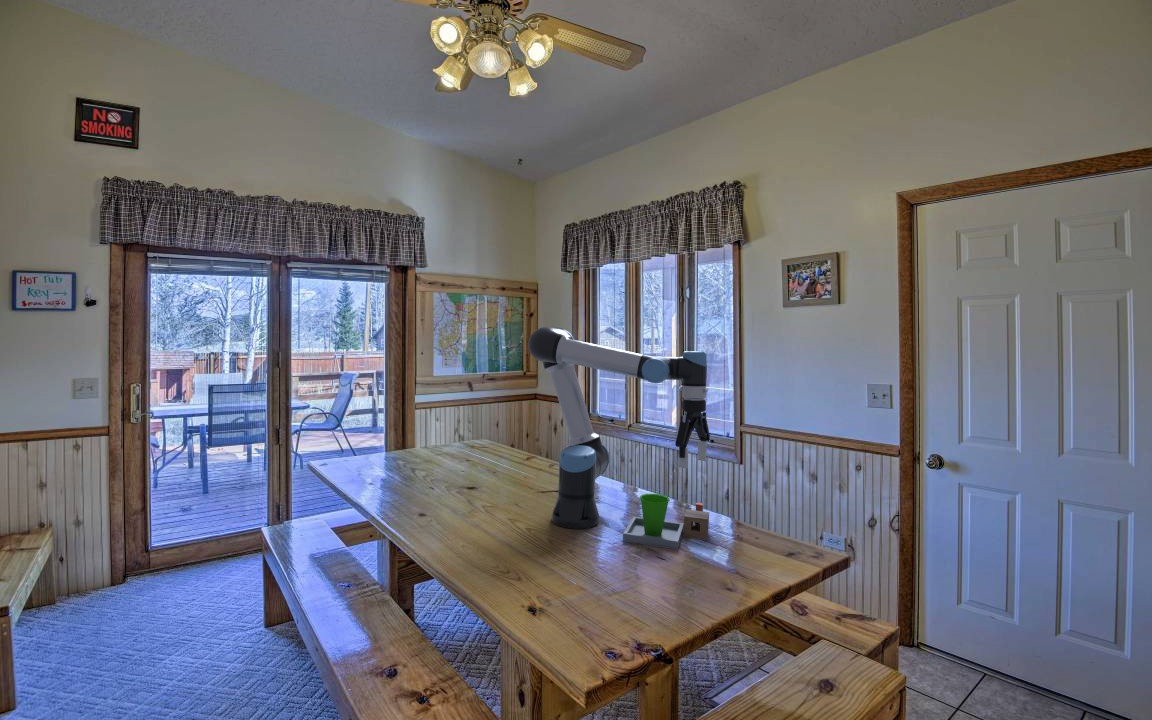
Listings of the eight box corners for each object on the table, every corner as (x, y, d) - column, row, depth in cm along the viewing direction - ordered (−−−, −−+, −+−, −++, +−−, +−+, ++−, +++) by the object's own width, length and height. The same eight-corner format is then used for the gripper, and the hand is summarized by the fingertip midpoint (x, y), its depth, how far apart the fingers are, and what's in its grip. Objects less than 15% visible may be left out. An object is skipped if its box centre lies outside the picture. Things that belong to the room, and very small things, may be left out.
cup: (667, 540, 160) (669, 503, 159) (637, 537, 161) (638, 501, 161) (668, 529, 169) (670, 495, 168) (639, 526, 170) (640, 492, 170)
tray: (622, 541, 160) (623, 533, 160) (633, 523, 175) (633, 516, 175) (677, 549, 155) (678, 541, 155) (683, 530, 170) (683, 523, 170)
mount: (685, 529, 172) (686, 509, 171) (708, 532, 169) (709, 512, 169) (683, 536, 165) (684, 516, 165) (706, 540, 163) (707, 519, 162)
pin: (695, 517, 179) (696, 502, 179) (702, 518, 178) (703, 503, 178) (693, 528, 169) (693, 511, 169) (700, 529, 169) (701, 512, 168)
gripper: (687, 403, 163) (685, 473, 164) (720, 396, 183) (719, 459, 184) (665, 401, 168) (663, 469, 169) (700, 395, 187) (698, 456, 188)
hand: (692, 464), depth 176 cm, fingers open, 13 cm apart
